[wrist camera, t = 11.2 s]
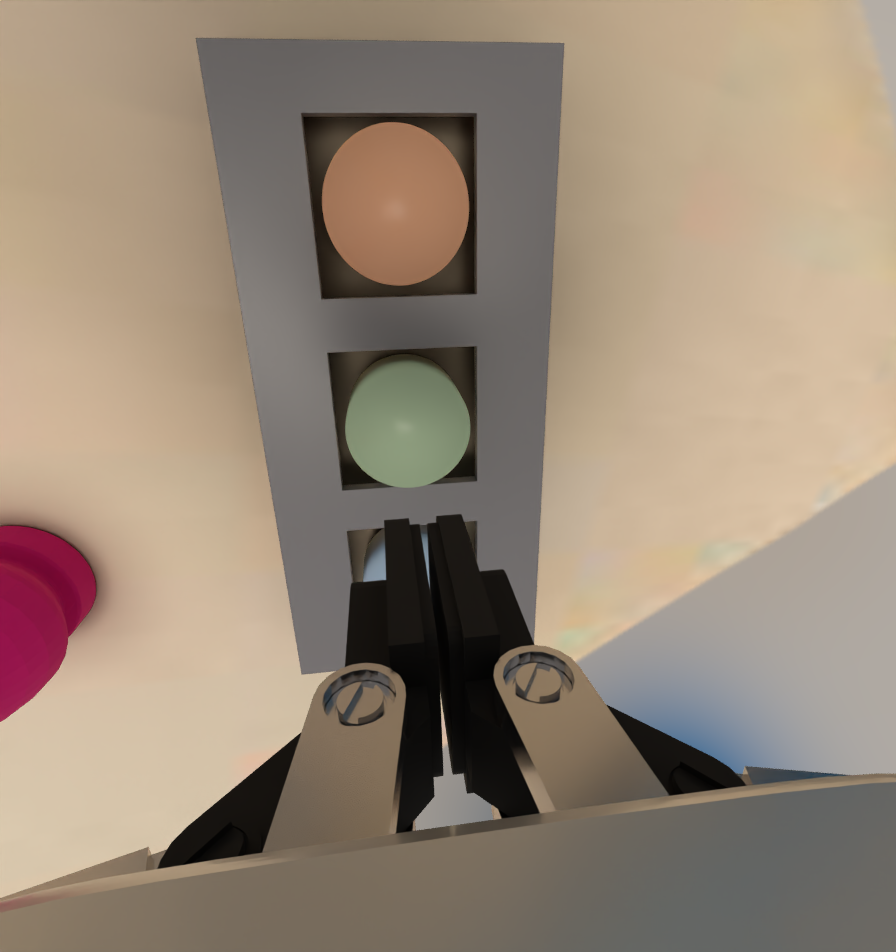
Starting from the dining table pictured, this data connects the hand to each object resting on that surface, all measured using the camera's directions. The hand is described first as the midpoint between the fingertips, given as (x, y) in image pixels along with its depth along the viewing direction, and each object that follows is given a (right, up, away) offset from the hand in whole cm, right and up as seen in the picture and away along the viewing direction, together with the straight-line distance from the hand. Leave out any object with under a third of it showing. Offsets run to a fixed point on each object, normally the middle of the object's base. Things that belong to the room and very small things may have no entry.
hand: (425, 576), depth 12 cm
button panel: (-2, +6, +14) cm, 15 cm away
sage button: (-1, +5, +13) cm, 14 cm away
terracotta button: (-2, +12, +9) cm, 16 cm away
